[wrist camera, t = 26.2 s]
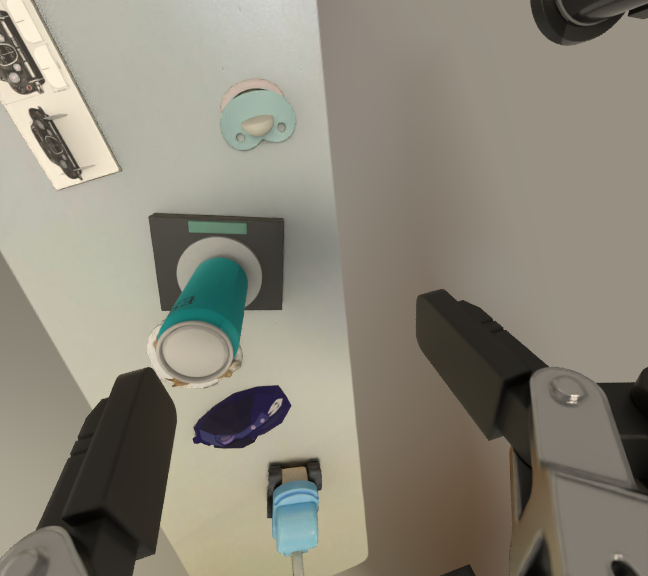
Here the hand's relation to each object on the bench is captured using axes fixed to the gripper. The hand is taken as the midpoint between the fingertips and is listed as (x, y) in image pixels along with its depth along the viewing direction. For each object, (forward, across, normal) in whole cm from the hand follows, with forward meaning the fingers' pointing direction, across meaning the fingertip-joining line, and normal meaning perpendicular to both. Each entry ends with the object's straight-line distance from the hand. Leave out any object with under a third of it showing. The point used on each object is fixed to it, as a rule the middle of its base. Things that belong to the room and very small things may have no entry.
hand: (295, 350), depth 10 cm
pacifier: (+31, -2, -5) cm, 31 cm away
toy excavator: (+24, +7, +52) cm, 58 cm away
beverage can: (+26, +6, +10) cm, 29 cm away
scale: (+29, +6, +10) cm, 31 cm away
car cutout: (+33, +17, -9) cm, 38 cm away
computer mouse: (+26, +10, +34) cm, 44 cm away
